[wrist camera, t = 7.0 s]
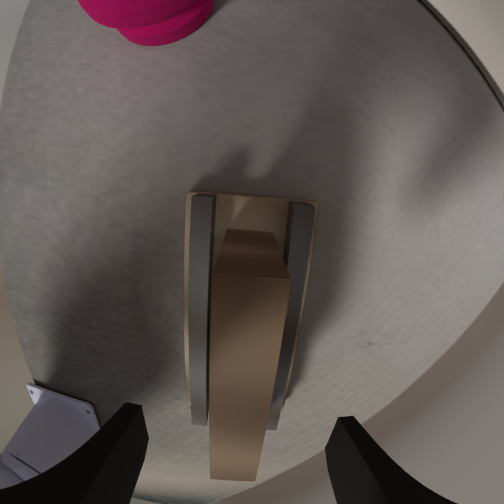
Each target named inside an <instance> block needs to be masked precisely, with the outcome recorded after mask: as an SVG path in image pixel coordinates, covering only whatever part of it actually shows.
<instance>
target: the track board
mask: <svg viewBox="0 0 504 504" xmlns="http://www.w3.org/2000/svg"><path fill="white" fill-rule="evenodd" d="M318 205H319V204H318V203H316V202H313V201H304V200H295V199H285V198H275V197H265V196H253V195H241V194H228V193H214V192H198V191H189V192H187V197H186V217H185V243H184V348H185V374H186V393H187V406H190V407H191V415H192V424H193V425H202V426H207V419H208V412H209V377H210V328H211V298H212V275H213V270H214V267H215V264H216V261H217V258H218V255H219V252H220V249H221V246H222V243H223V240H224V237H225V234H226V231H227V228H228V229H240V230H253V231H265V232H273V235H274V237H275V240H276V242H277V245H278V247H279V250H280V252H281V255H282V257H283V260H284V262H285V265H286V268H287V270H288V273H289V275H290V278H291V283H290V290H289V293H290V300H289V307H288V314H287V315H286V317H285V324H284V330H283V336H282V343H281V349H280V355H279V361H278V367H277V372H276V378H275V384H274V389H273V395H272V400H271V405H270V411H269V416H268V421H267V426H266V430H276V429H277V425H278V420H279V416H280V413H282V412H283V408H284V404H285V399H286V395H287V390H288V386H289V381H290V376H291V372H292V367H293V362H294V357H295V352H296V347H297V341H298V336H299V331H300V325H301V320H302V314H303V308H304V302H305V297H306V290H307V284H308V278H309V272H310V265H311V258H312V251H313V244H314V237H315V229H316V222H317V214H318Z"/></svg>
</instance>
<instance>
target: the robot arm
mask: <svg viewBox="0 0 504 504" xmlns="http://www.w3.org/2000/svg"><path fill="white" fill-rule="evenodd" d="M27 388H28V391H29V393H30V395H31V397H32V399H33V402H34V404H35V405H34V407H33V408H32V409H31V411H30V412H29V414H28V415H27V417H26V418H25V419H24V421H23V422H22V424H21V425H20V426H19V428H18V429H17V431H16V432H15V434H14V435H13V436H12V438H11V440H10V441H9V442H8V444H7V445H6V447H5V449H4V450H3V452H2V453H0V504H129V503H130V500H131V497H132V494H133V491H134V488H135V486H136V483H137V480H138V477H139V474H140V471H141V468H142V465H143V462H144V459H145V454H146V450H147V445H148V440H149V437H148V432H147V428H146V424H145V419H144V415H143V410H142V405H137V404H132V403H127V402H126V403H124V404H123V405H122V407H121V408H120V409H119V410H118V411H117V412H116V413H115V414H114V415H113V416H112V417H111V418H110V419H109V420H108V421H107V422H106V423H105V424H104V425H103V426H102V427H101V428H100V425H99V423H98V420H97V417H96V414H95V412H94V409H93V406H92V405H91V404H90V403H88V402H84V401H81V400H78V399H74V398H71V397H68V396H65V395H62V394H59V393H56V392H54V391H51V390H48V389H45V388H43V387H40V386H37V385H35V384H32V383H28V384H27ZM325 451H326V460H327V466H328V472H329V476H330V480H331V484H332V487H333V490H334V494H335V498H336V501H337V504H457V503H454V502H452V501H450V500H448V499H446V498H444V497H442V496H440V495H439V494H437V493H435V492H433V491H432V490H430V489H428V488H427V487H425V486H424V485H422V484H421V483H419V482H418V481H417V480H415V479H414V478H413V477H411V476H410V475H409V474H408V473H407V472H405V471H404V470H403V469H402V468H401V467H400V466H399V465H397V463H395V462H394V461H393V460H392V459H391V458H390V457H389V456H388V455H387V454H386V452H385V451H383V449H382V448H381V447H380V446H379V445H378V444H377V443H376V442H375V441H374V439H373V438H372V437H371V436H370V435H369V434H368V433H367V431H366V430H365V429H364V428H363V427H362V426H361V424H360V423H359V422H358V421H357V420H356V418H355V417H354V416H347V417H338V419H337V422H336V424H335V426H334V429H333V431H332V434H331V436H330V438H329V441H328V443H327V445H326V447H325Z"/></svg>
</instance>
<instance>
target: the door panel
mask: <svg viewBox="0 0 504 504" xmlns="http://www.w3.org/2000/svg"><path fill="white" fill-rule="evenodd" d="M290 283H291V278H290V275H289V273H288V270H287V268H286V265H285V262H284V260H283V257H282V255H281V252H280V250H279V247H278V245H277V242H276V240H275V237H274V235H273V232H265V231H253V230H240V229H228V228H227V231H226V234H225V237H224V240H223V243H222V246H221V249H220V252H219V255H218V258H217V261H216V264H215V267H214V270H213V275H212V298H211V328H210V377H209V440H210V479H219V480H234V481H255V479H256V474H257V469H258V465H259V460H260V456H261V451H262V446H263V441H264V436H265V431H266V426H267V421H268V416H269V411H270V405H271V400H272V395H273V389H274V384H275V378H276V372H277V367H278V361H279V355H280V349H281V343H282V336H283V330H284V324H285V317H286V315H287V314H288V307H289V300H290V293H289V290H290Z"/></svg>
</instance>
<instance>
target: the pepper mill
mask: <svg viewBox="0 0 504 504" xmlns="http://www.w3.org/2000/svg"><path fill="white" fill-rule="evenodd" d="M78 2H79V3H80V5H81V7H82V8H83V9H84V10H85V11H86V13H87V14H88V15H89V16H90V17H91V18H92V19H93V20H94V21H96V22H98V23H100V24H102V25H104V26H107V27H112V28H116V29H117V30H118V31H119V32H120V33H121V34H122V35H123V36H124V37H125V38H126V39H128V40H129V41H131V42H133V43H135V44H139V45H144V46H159V45H165V44H169V43H172V42H175V41H178V40H180V39H182V38H185V37H186V36H188V35H189V34H191V33H192V32H194V31H195V30H197V29H198V28H199V27H200V26H201V25H202V24H203V23H204V22H205V21H206V20H207V18H208V17H209V15H210V14H211V11H212V9H213V6H214V0H78Z"/></svg>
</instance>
